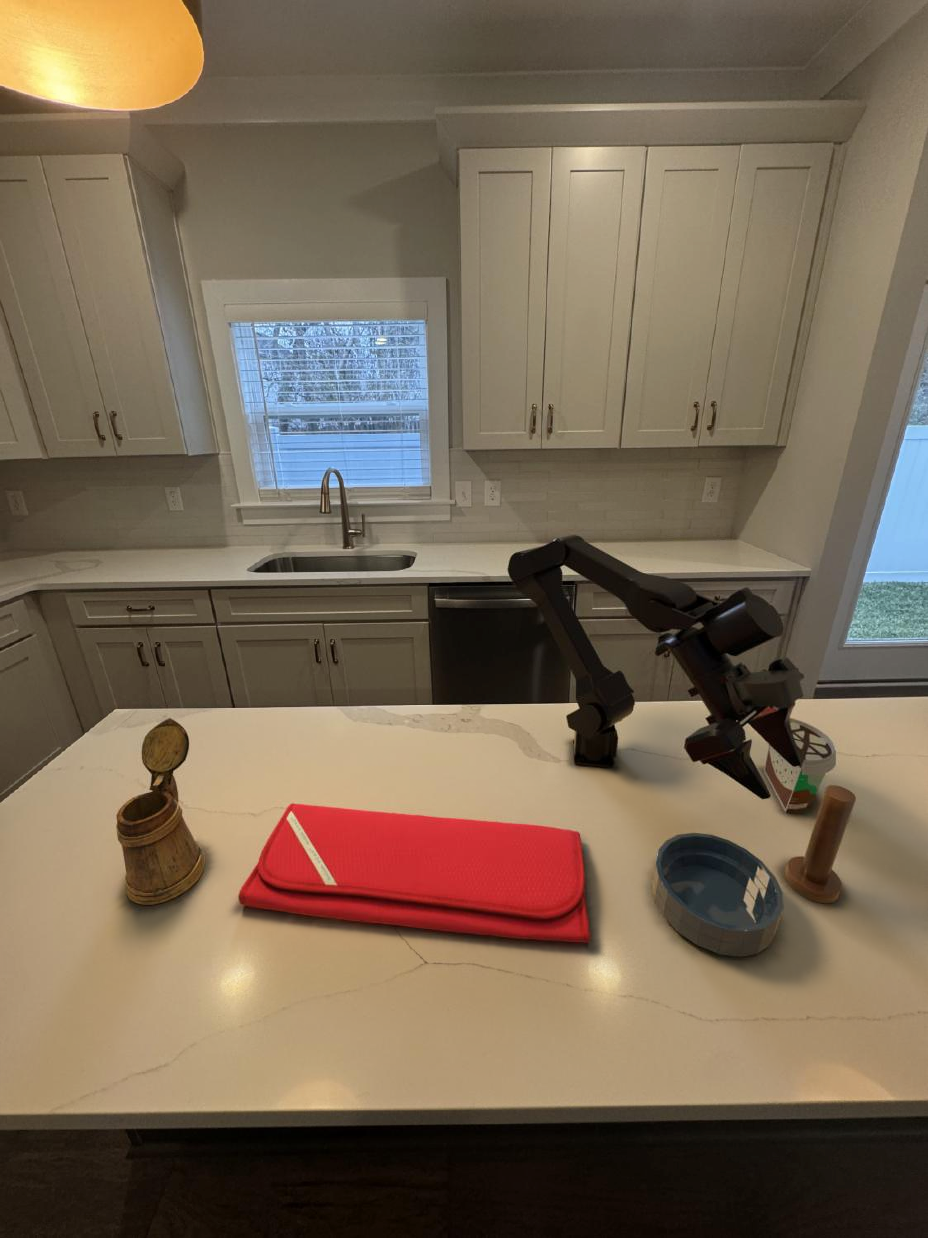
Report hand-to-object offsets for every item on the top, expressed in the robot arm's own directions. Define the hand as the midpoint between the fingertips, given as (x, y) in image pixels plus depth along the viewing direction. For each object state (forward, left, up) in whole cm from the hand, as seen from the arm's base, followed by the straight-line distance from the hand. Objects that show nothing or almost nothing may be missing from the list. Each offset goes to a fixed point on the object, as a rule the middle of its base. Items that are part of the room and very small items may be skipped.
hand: (782, 781), depth 62 cm
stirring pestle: (+4, -4, -12) cm, 13 cm away
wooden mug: (-77, -13, -12) cm, 79 cm away
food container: (+9, +13, -12) cm, 20 cm away
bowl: (-9, -9, -12) cm, 17 cm away
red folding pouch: (-44, -10, -12) cm, 47 cm away
